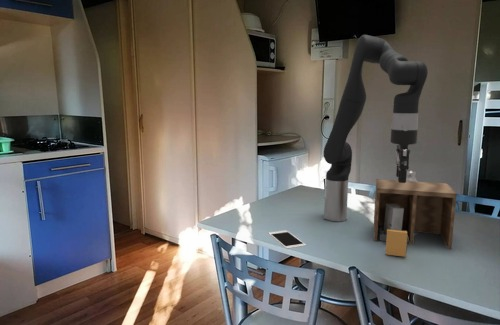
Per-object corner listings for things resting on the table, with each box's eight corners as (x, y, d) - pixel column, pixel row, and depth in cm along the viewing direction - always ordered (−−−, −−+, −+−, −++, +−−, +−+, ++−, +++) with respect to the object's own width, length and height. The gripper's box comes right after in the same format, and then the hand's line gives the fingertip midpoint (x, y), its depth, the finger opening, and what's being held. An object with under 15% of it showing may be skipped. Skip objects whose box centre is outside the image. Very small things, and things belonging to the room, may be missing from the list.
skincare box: (382, 234, 139) (384, 203, 137) (394, 233, 139) (396, 203, 137) (390, 240, 133) (392, 208, 131) (402, 240, 133) (404, 207, 131)
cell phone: (286, 231, 143) (286, 230, 143) (306, 246, 128) (306, 244, 128) (267, 234, 140) (267, 232, 140) (286, 249, 125) (286, 248, 125)
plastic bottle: (417, 218, 158) (421, 172, 155) (401, 217, 159) (404, 172, 156) (414, 213, 164) (417, 169, 161) (398, 212, 166) (401, 169, 162)
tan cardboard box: (380, 254, 120) (382, 230, 119) (379, 230, 143) (380, 209, 141) (410, 257, 117) (412, 233, 116) (404, 232, 140) (405, 211, 138)
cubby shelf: (373, 240, 132) (377, 188, 129) (373, 226, 147) (376, 179, 144) (451, 249, 125) (456, 193, 122) (442, 233, 140) (447, 183, 137)
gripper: (390, 126, 120) (387, 174, 123) (392, 129, 107) (389, 183, 110) (414, 126, 118) (411, 176, 121) (420, 130, 105) (416, 185, 107)
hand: (400, 179), depth 115 cm, fingers open, 8 cm apart
